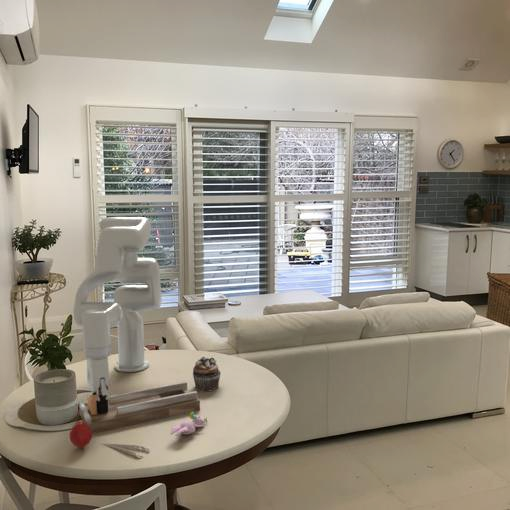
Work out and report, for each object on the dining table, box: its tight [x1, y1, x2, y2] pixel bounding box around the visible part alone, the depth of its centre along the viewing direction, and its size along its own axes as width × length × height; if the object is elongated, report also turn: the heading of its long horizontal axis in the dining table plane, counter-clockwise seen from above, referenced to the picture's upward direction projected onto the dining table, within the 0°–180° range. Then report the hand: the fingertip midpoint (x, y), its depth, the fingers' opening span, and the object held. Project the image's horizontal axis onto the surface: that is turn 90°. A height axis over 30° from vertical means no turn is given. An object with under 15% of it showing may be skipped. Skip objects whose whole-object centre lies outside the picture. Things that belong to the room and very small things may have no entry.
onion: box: [69, 419, 93, 449], centre depth 145 cm, size 6×6×8 cm
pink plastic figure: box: [170, 411, 208, 437], centre depth 154 cm, size 6×6×15 cm
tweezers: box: [100, 442, 151, 460], centre depth 146 cm, size 18×5×2 cm, turn 64°
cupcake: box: [192, 356, 221, 392], centre depth 186 cm, size 10×10×10 cm
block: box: [87, 394, 109, 415], centre depth 161 cm, size 5×5×4 cm
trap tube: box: [78, 381, 201, 434], centre depth 167 cm, size 14×34×5 cm, turn 118°
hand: (100, 408), depth 162 cm, fingers closed on block, 5 cm apart
